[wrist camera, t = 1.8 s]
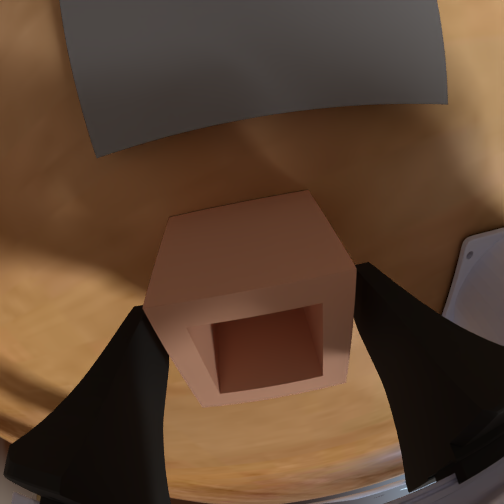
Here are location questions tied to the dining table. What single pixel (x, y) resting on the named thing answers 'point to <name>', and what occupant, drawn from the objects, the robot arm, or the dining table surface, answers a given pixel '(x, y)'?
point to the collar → (254, 299)
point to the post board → (244, 61)
